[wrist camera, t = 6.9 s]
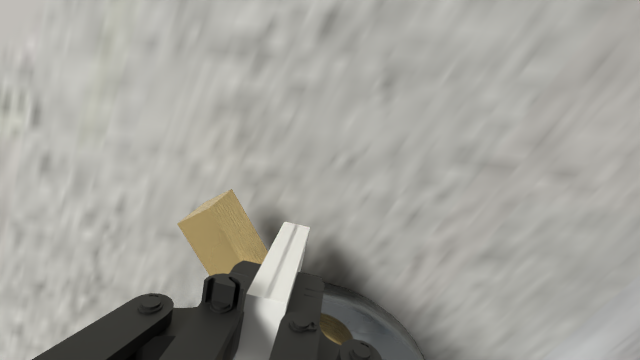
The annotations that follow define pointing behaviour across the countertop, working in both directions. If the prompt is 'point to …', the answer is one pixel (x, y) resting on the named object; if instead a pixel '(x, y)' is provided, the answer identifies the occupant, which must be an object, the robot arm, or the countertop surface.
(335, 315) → the tribrach plate
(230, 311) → the robot arm
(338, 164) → the countertop surface
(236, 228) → the knob
